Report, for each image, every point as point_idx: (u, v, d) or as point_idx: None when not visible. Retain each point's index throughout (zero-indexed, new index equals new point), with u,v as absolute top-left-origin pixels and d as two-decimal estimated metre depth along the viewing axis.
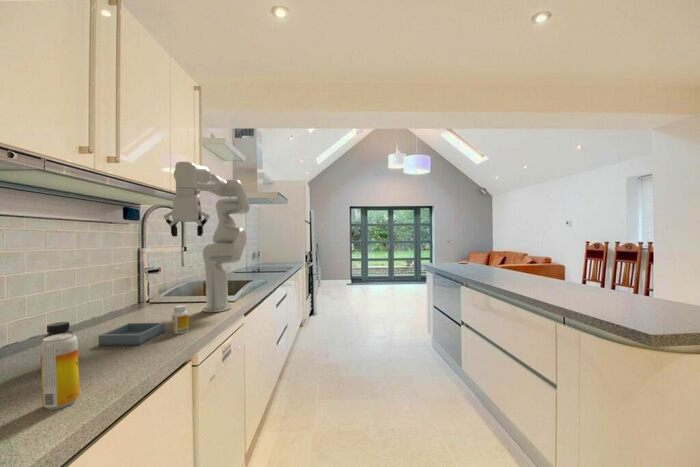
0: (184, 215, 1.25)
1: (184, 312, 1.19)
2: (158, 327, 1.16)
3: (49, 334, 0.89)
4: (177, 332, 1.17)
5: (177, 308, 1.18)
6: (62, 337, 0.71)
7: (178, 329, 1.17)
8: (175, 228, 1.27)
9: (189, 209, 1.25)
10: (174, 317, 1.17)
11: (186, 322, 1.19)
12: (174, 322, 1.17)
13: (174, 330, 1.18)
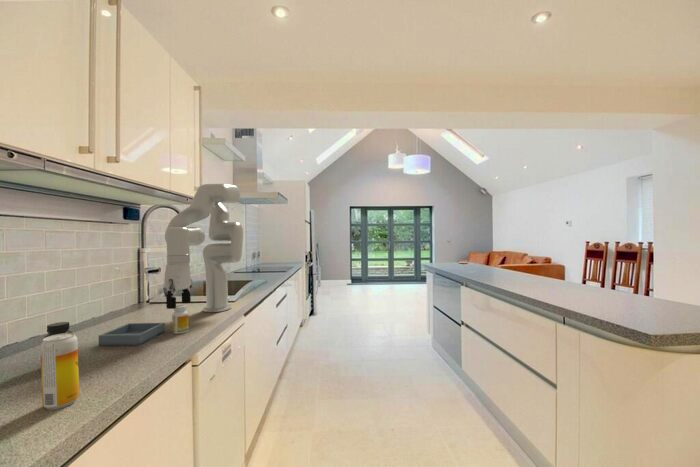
0: (184, 283, 1.19)
1: (184, 312, 1.19)
2: (158, 327, 1.16)
3: (49, 334, 0.89)
4: (177, 332, 1.17)
5: (177, 308, 1.18)
6: (62, 337, 0.71)
7: (178, 329, 1.17)
8: None
9: (187, 276, 1.21)
10: (174, 317, 1.17)
11: (186, 322, 1.19)
12: (174, 322, 1.17)
13: (174, 330, 1.18)
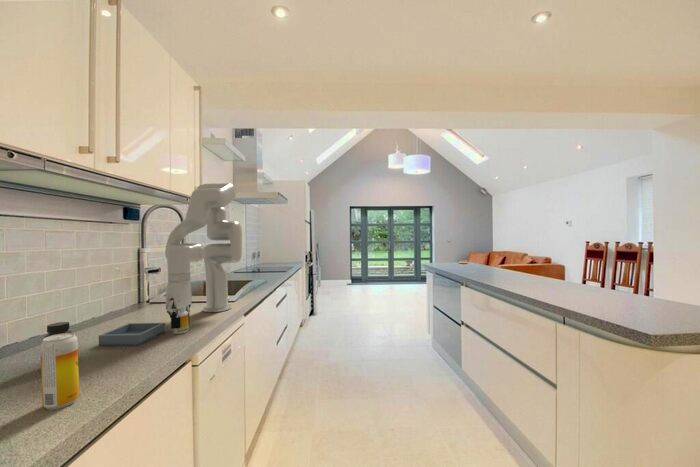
0: (186, 300, 1.20)
1: (184, 312, 1.19)
2: (158, 327, 1.16)
3: (49, 334, 0.89)
4: (177, 332, 1.17)
5: None
6: (62, 337, 0.71)
7: (178, 329, 1.17)
8: None
9: (188, 294, 1.22)
10: None
11: (186, 322, 1.19)
12: None
13: (174, 330, 1.18)
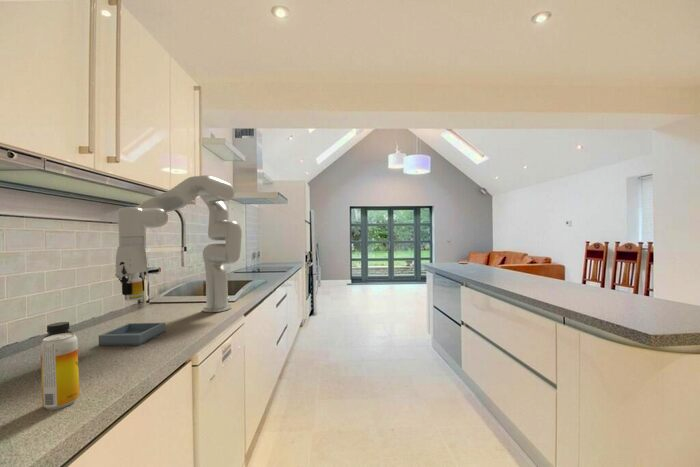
0: (139, 266, 1.13)
1: (137, 278, 1.12)
2: (158, 327, 1.16)
3: (49, 334, 0.89)
4: (128, 299, 1.11)
5: None
6: (62, 337, 0.71)
7: (130, 296, 1.11)
8: None
9: (143, 259, 1.15)
10: None
11: (139, 289, 1.13)
12: None
13: (126, 297, 1.11)
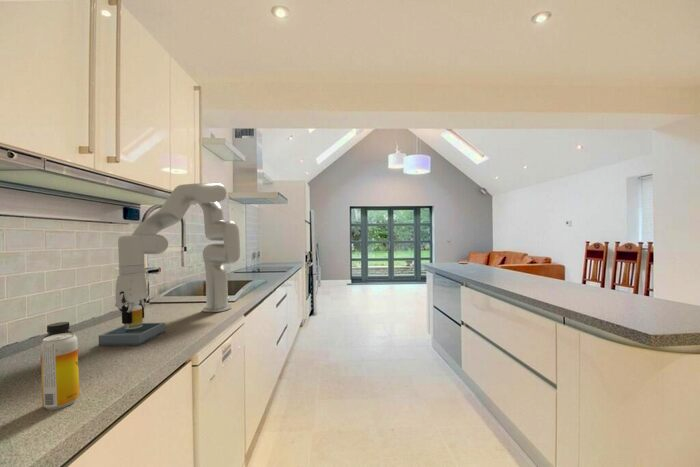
0: (139, 294, 1.13)
1: (137, 306, 1.12)
2: (158, 327, 1.16)
3: (49, 334, 0.89)
4: (128, 328, 1.11)
5: None
6: (62, 337, 0.71)
7: (130, 324, 1.11)
8: None
9: (142, 287, 1.15)
10: None
11: (139, 317, 1.13)
12: None
13: (125, 325, 1.11)
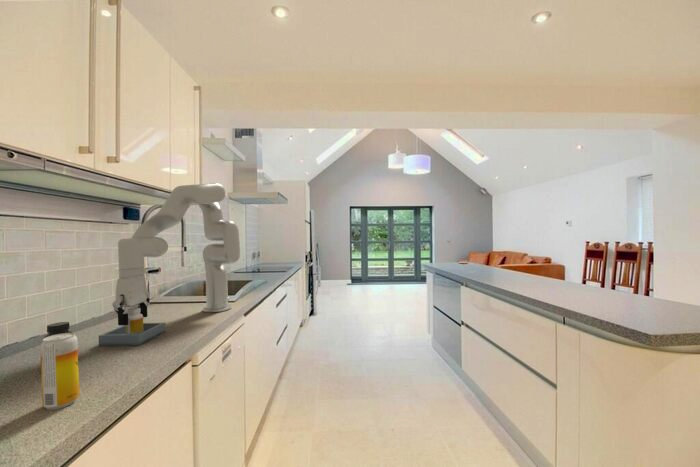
0: (139, 297, 1.13)
1: (138, 315, 1.13)
2: (158, 327, 1.16)
3: (49, 334, 0.89)
4: None
5: (130, 311, 1.12)
6: (62, 337, 0.71)
7: (131, 333, 1.11)
8: None
9: (142, 290, 1.15)
10: None
11: (140, 326, 1.13)
12: (126, 326, 1.11)
13: None
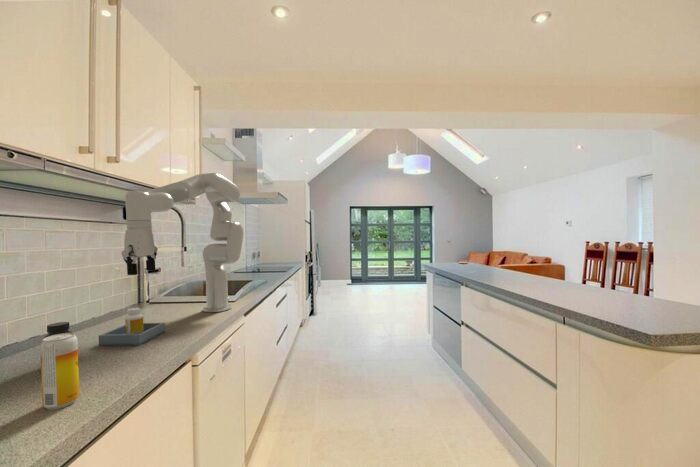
0: (147, 249, 1.16)
1: (138, 315, 1.13)
2: (158, 327, 1.16)
3: (49, 334, 0.89)
4: None
5: (130, 311, 1.12)
6: (62, 337, 0.71)
7: (131, 333, 1.11)
8: None
9: (150, 243, 1.18)
10: (127, 320, 1.11)
11: (140, 326, 1.13)
12: (127, 326, 1.11)
13: None
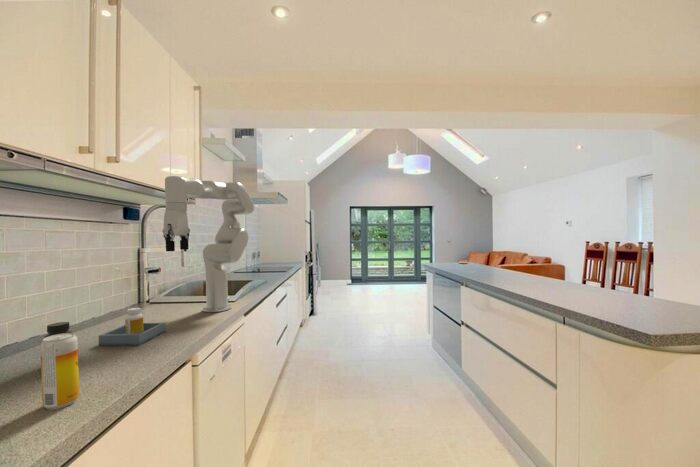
0: (182, 229, 1.28)
1: (138, 315, 1.13)
2: (158, 327, 1.16)
3: (49, 334, 0.89)
4: None
5: (130, 311, 1.12)
6: (62, 337, 0.71)
7: (131, 333, 1.11)
8: None
9: (185, 224, 1.29)
10: (127, 320, 1.11)
11: (140, 326, 1.13)
12: (127, 326, 1.11)
13: None
